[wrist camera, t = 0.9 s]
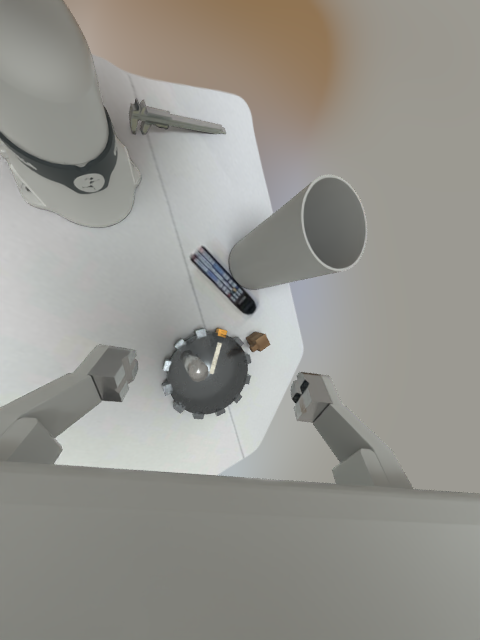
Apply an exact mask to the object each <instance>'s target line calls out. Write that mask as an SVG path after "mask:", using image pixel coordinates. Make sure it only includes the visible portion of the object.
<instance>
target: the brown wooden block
mask: <svg viewBox="0 0 480 640" xmlns="http://www.w3.org/2000/svg"><path fill="white" fill-rule="evenodd" d="M246 339H247V341H248V343H249V345H250V347H249V348H250V350H251V351H252V352H254V351H256V350H258V351H262V350H263V349H265V348H266V347H268V346H269V345H270V343H269V341H268V339H267V337H266V334H263V333H258V332H254V333H253V334H251V335H249V336H248V337H246Z"/></svg>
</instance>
